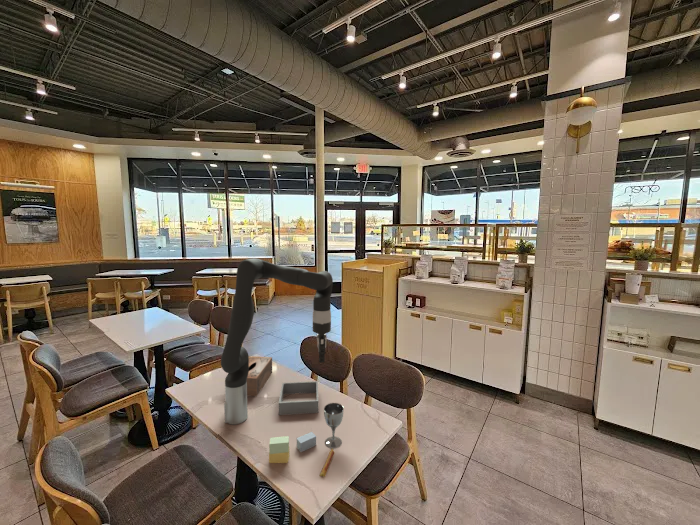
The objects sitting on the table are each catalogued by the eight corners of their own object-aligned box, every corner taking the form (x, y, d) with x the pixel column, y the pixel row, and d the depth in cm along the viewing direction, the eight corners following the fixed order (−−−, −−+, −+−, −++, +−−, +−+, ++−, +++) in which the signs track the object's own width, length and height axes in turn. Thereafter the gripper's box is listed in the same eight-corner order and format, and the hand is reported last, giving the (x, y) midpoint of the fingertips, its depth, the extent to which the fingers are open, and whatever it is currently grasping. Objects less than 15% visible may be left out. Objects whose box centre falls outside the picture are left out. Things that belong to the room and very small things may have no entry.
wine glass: (323, 436, 128) (324, 403, 126) (342, 435, 129) (343, 402, 127) (323, 449, 120) (324, 414, 119) (343, 448, 121) (344, 414, 119)
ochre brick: (269, 463, 113) (268, 453, 113) (271, 456, 117) (271, 446, 116) (287, 462, 113) (287, 453, 113) (289, 455, 117) (289, 446, 116)
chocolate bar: (318, 476, 108) (318, 470, 108) (329, 452, 120) (329, 447, 119) (325, 478, 107) (325, 472, 107) (335, 454, 119) (335, 448, 119)
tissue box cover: (256, 396, 157) (256, 378, 156) (229, 395, 158) (229, 377, 157) (272, 373, 183) (272, 357, 182) (248, 371, 184) (248, 356, 183)
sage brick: (269, 454, 112) (269, 444, 112) (270, 447, 116) (270, 437, 115) (288, 452, 113) (288, 442, 113) (288, 445, 117) (288, 436, 116)
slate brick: (300, 452, 119) (300, 443, 118) (296, 447, 122) (296, 438, 121) (316, 445, 123) (316, 436, 122) (311, 440, 126) (311, 431, 125)
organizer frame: (278, 415, 142) (278, 403, 141) (282, 393, 160) (282, 382, 160) (318, 412, 144) (318, 400, 144) (317, 391, 163) (317, 381, 162)
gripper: (312, 315, 131) (312, 351, 133) (312, 325, 117) (312, 365, 118) (329, 314, 132) (329, 350, 133) (332, 325, 118) (331, 365, 119)
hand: (321, 357), depth 126 cm, fingers open, 8 cm apart
